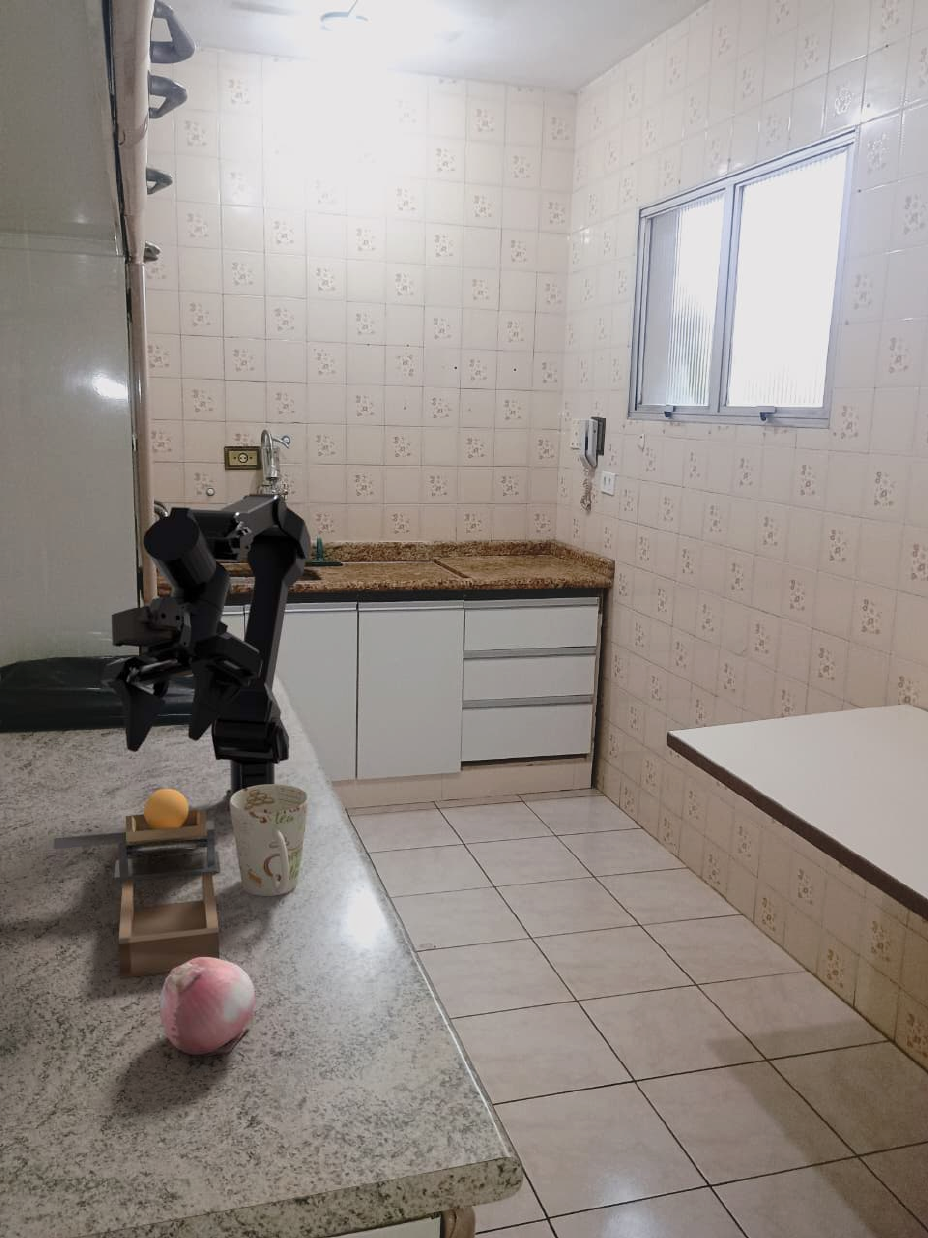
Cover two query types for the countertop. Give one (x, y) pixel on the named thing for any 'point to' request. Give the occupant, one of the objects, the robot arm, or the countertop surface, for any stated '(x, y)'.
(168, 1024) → the onion
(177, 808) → the ball
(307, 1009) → the countertop surface
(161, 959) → the tray
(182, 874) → the stand
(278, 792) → the mug
